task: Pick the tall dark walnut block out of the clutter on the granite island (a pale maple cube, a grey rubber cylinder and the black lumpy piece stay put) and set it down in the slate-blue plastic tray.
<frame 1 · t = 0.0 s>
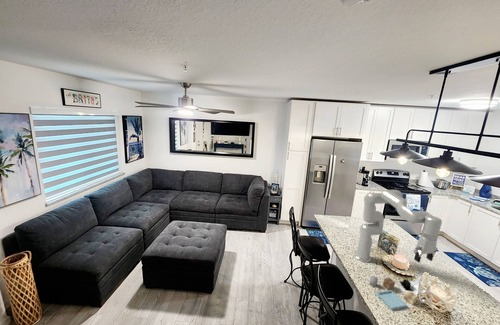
hand: (423, 260, 130), 31 cm above the kitchen island, fingers open, 9 cm apart
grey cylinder: (373, 284, 150), on the kitchen island
black lumpy piece: (405, 286, 150), on the kitchen island
tray: (390, 300, 136), on the kitchen island
walnut block: (388, 287, 148), on the kitchen island
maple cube: (409, 300, 137), on the kitchen island
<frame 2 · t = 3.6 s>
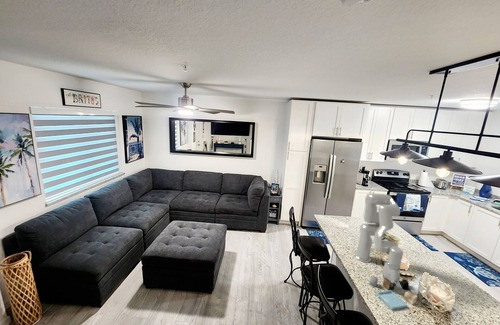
hand: (388, 286, 148), 1 cm above the kitchen island, fingers closed on walnut block, 4 cm apart
walnut block: (388, 287, 148), on the kitchen island, touching gripper
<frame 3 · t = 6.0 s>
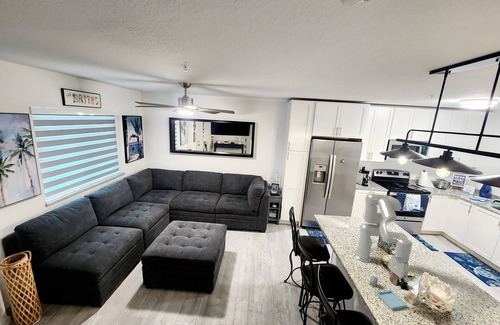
hand: (395, 282, 133), 14 cm above the kitchen island, fingers closed on walnut block, 4 cm apart
walnut block: (395, 283, 133), point 14 cm above the kitchen island, touching gripper
when the fingers open (2 cm above the kitchen island, at t = 8.4 s): walnut block drops 1 cm, resting on tray.
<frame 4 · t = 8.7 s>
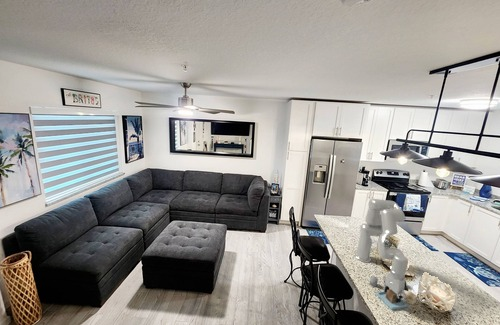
hand: (391, 296, 136), 3 cm above the kitchen island, fingers open, 7 cm apart
walnut block: (391, 299, 136), point 1 cm above the kitchen island, touching tray
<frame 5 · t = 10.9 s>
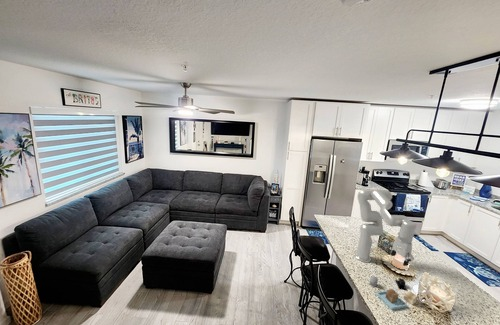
hand: (398, 260, 142), 23 cm above the kitchen island, fingers open, 9 cm apart
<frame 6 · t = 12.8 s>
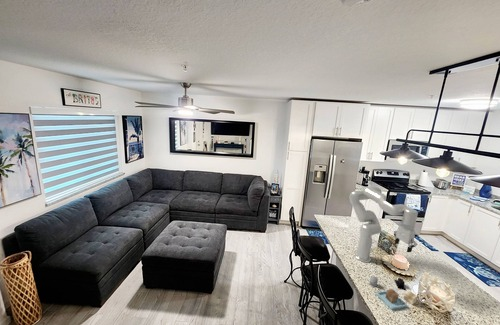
hand: (402, 247, 148), 28 cm above the kitchen island, fingers open, 9 cm apart
at the end: walnut block inside the target area on the tray (0.1 cm from its centre), point 0.6 cm above the tray's base; walnut block tilted 0°; the gripper is holding nothing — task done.
